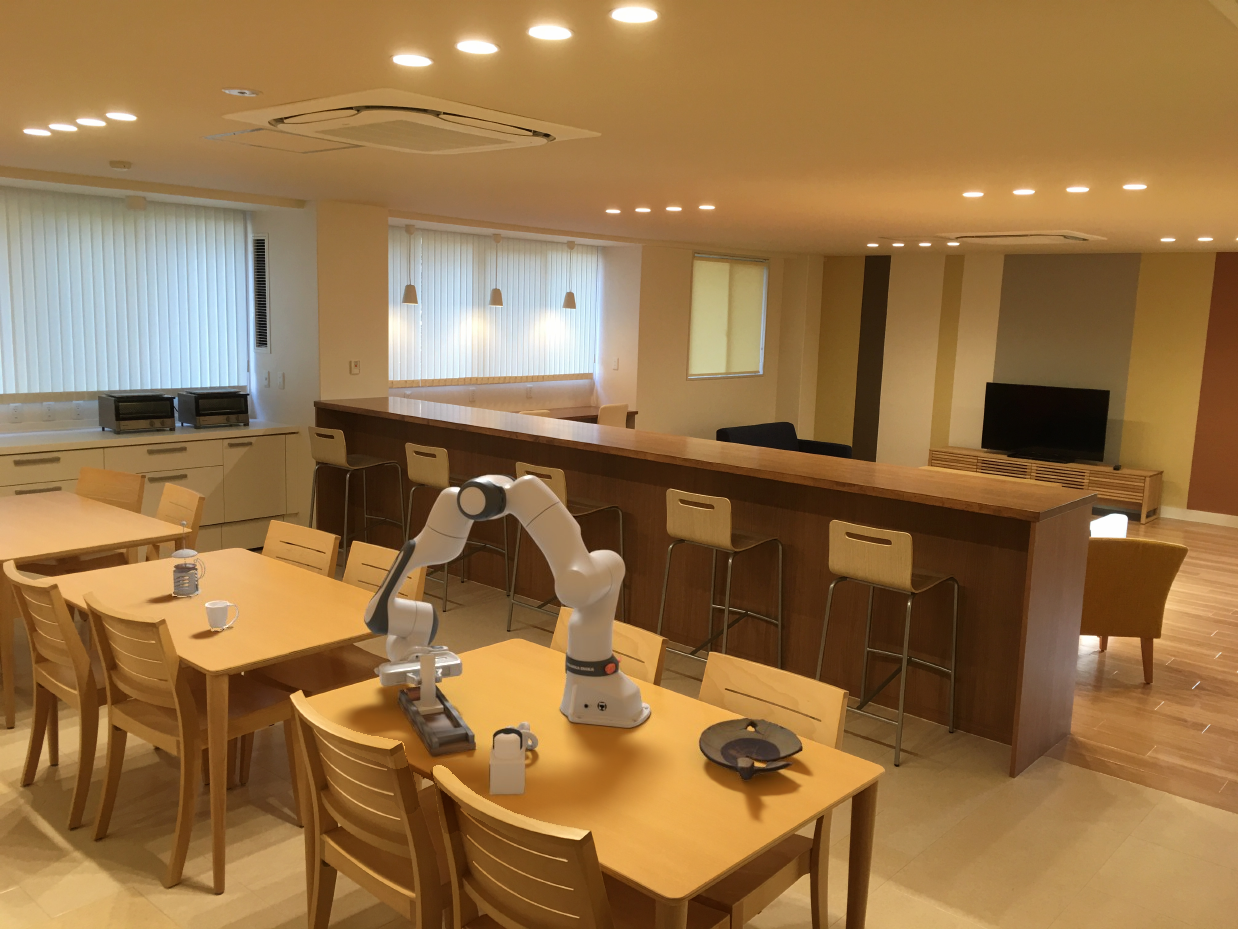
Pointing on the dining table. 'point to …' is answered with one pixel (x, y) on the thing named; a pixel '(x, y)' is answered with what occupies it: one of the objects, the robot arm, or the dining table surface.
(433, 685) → the post
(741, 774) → the dark grey shallow dish
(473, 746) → the slot track
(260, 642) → the dining table surface
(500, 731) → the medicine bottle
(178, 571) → the french press
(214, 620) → the cup
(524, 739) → the knot
